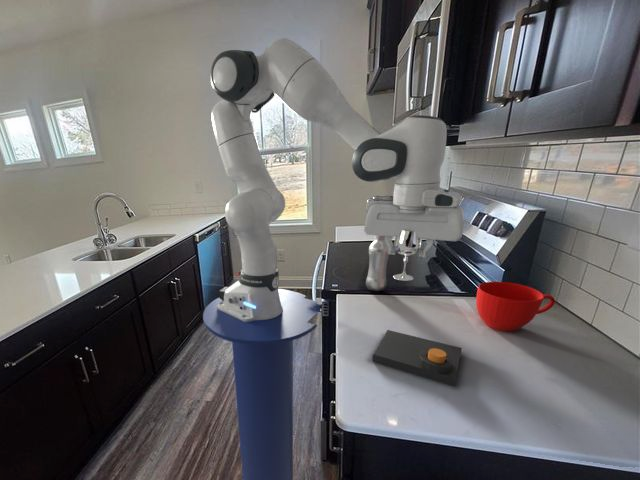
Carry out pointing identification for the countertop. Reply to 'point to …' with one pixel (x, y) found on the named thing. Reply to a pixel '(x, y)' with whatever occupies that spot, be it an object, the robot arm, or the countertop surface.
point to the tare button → (437, 355)
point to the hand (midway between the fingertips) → (406, 255)
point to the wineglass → (406, 250)
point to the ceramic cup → (509, 304)
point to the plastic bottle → (377, 264)
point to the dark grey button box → (417, 356)
